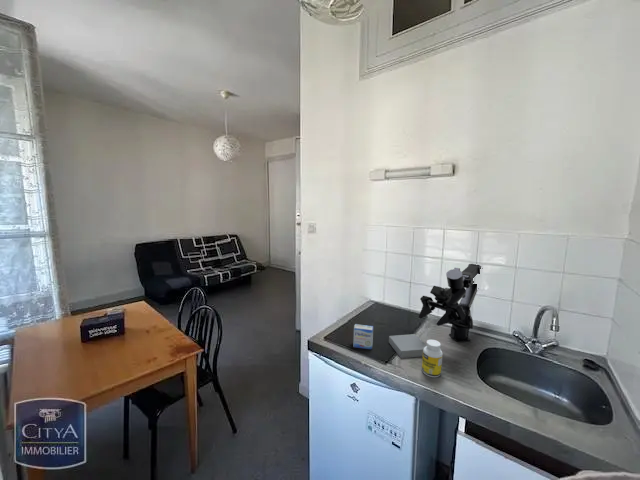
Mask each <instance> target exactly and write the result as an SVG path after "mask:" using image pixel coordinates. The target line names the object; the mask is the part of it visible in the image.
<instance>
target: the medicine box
mask: <svg viewBox="0 0 640 480" xmlns="http://www.w3.org/2000/svg"><path fill="white" fill-rule="evenodd" d="M373 338H374V325H366V324H365V325H364V324H358V323H355V324H354V325H353V340H352V341H353V344H352V345H353V348H357V349H364V350H373V345H374V344H373V343H374V339H373Z"/></svg>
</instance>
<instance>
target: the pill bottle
mask: <svg viewBox="0 0 640 480" xmlns="http://www.w3.org/2000/svg"><path fill="white" fill-rule="evenodd" d="M425 344H426V347H424V349H423V356H422V358H421V359H422V362H421V371H422V373H423V374H424V375H426V376H427V377H430V378H438V377H440V376H441V374H442V365H443V363H442V362H443V354H444V353H443V351H442V349H441V345H442V344H441V342H440V341H438V340H436V339H427V340H426V343H425Z"/></svg>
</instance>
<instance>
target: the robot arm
mask: <svg viewBox="0 0 640 480" xmlns="http://www.w3.org/2000/svg"><path fill="white" fill-rule="evenodd" d="M481 267H482V265H480V264H477V265H476V264H475V263H469V264H468V265H467V267H466V268H465V269H463V270H462V271H461V268H459V267H454V269H450V270H448V271H447V272H446V283H447V286H448V287H445V288H444V287H441V286H438V285H433V286H432V287H431V289H430V292H429V293H430V294H432V295H433V296H434V300H435V301H434V300H433V298H432V297H431V296H428V295H422V296H421V297H420V302H421V304H422V307H421V310H420V313H419V315H418V319H420V320H421V319H423V318H425V317H427V316H428V315H430V314H432V313H433V311H434V310H435V309H439V310H441V311H443V312H445V313H444V314H443V315H442V316H441V317H440V318H439V319H438V321H437V322H436V325H437V326H439V327H440V326H442V325H446V324H450V325H451V328H450V333H449V334H448V336H450V337H451V338H452V339H454V340H455V341H456V342H457V343H459V342H470V341H471V338H469V331H470V330H471V329H472V330H473V328H474V320H473V318H472V314H471V308H472V304H473V302H474V300H475V297H476V295H477V293H478V290H477V284H473V283H474V281H473V278H474V277H475V276H476V275H477V274H480V269H481ZM459 301H460V302H459Z"/></svg>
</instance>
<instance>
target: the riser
mask: <svg viewBox="0 0 640 480" xmlns="http://www.w3.org/2000/svg"><path fill="white" fill-rule="evenodd" d="M388 343H389V344H390V346H391V348H393V350H394V351H395V352H396V354H397V355H398V356H399V358H400V359H407V358H417V357H419V358H420V357H423V349H424V347H426V343H424V341H423V340H422V339H421V338H420V337H419V336H417V334H415V333H413V334H412V333H411V334H398V335H396V334H395V335H389V336H388Z"/></svg>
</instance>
